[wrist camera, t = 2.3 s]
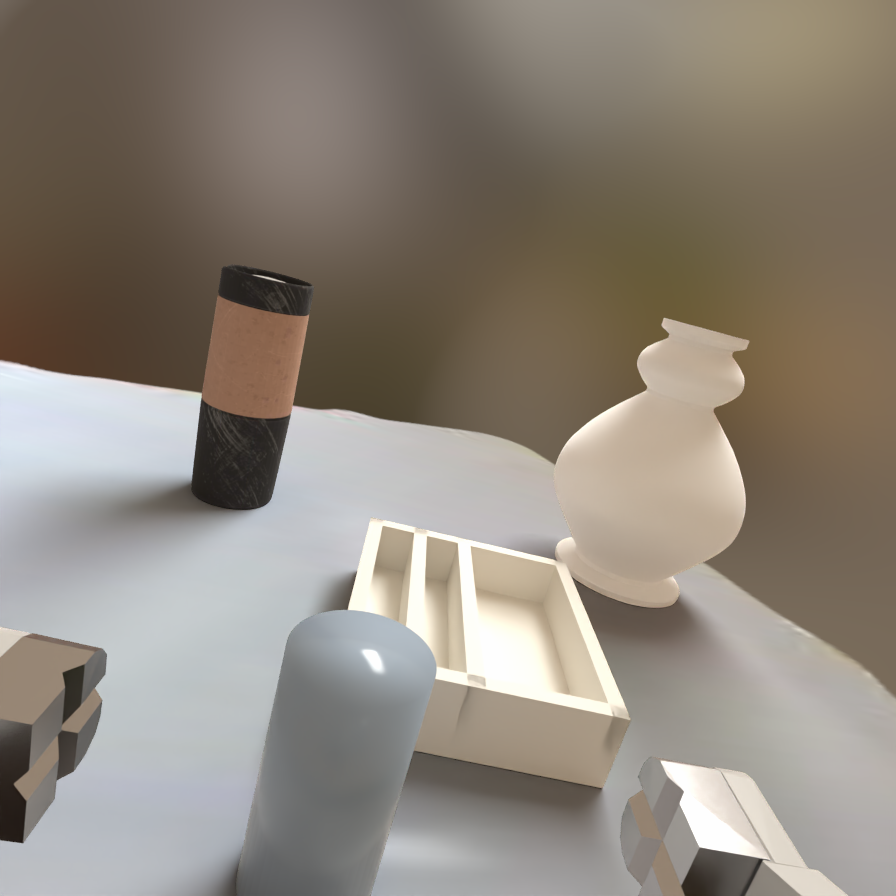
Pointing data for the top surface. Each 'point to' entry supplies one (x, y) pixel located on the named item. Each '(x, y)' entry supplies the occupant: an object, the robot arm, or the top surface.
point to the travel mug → (249, 385)
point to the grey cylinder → (335, 755)
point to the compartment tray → (498, 653)
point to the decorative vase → (655, 474)
